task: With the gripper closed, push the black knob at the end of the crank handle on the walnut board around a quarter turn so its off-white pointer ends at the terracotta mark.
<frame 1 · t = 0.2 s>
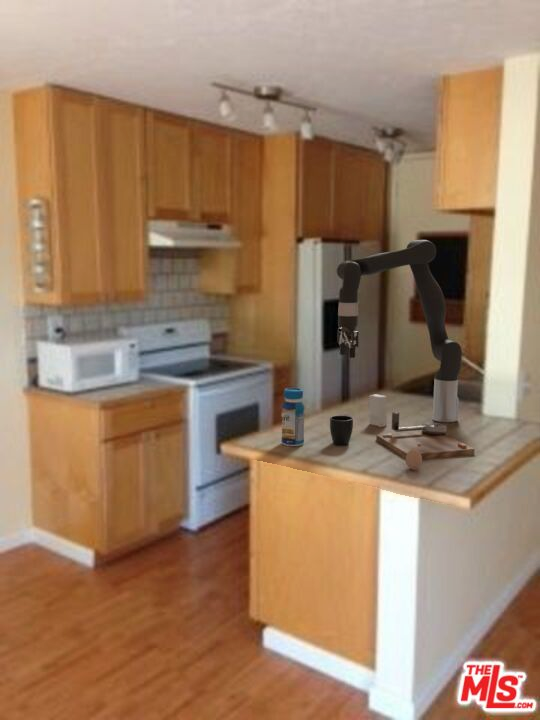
hand: (347, 356, 260), 29 cm above the counter, fingers open, 8 cm apart
skincare box: (377, 425, 269), on the counter
board: (423, 447, 239), on the counter
egg: (413, 470, 215), on the counter
crank handle: (419, 422, 248), point 6 cm above the counter, hinge at 0.0°
beverage bottle: (292, 444, 243), on the counter
mug: (342, 442, 245), on the counter
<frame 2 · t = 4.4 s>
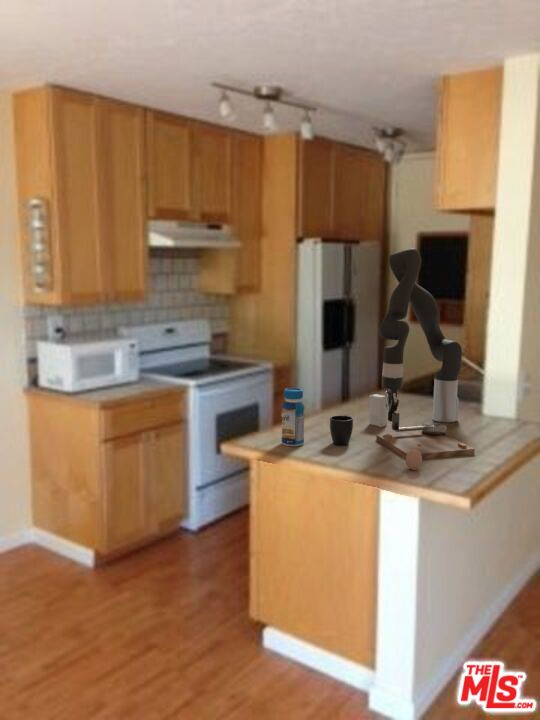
hand: (390, 420, 249), 7 cm above the counter, fingers closed
crank handle: (419, 422, 248), point 6 cm above the counter, hinge at 0.4°, touching gripper
everything else where it was.
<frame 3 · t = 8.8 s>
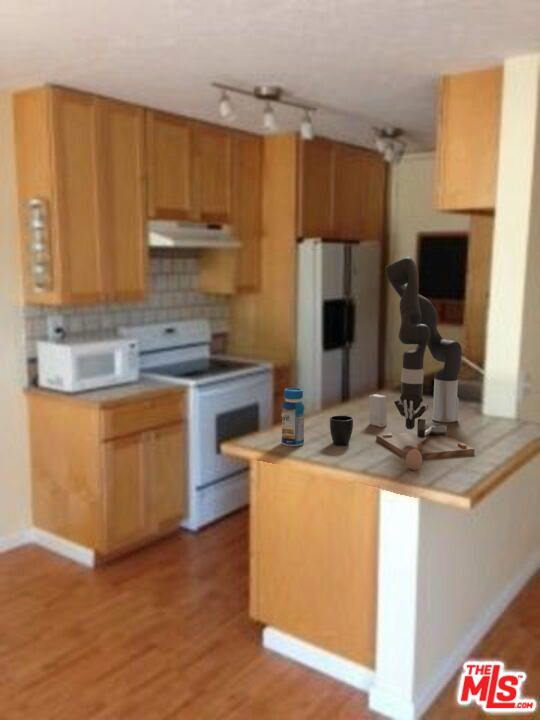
hand: (410, 428, 238), 7 cm above the counter, fingers closed
crank handle: (429, 425, 244), point 6 cm above the counter, hinge at 43.6°, touching gripper
everything else where it was.
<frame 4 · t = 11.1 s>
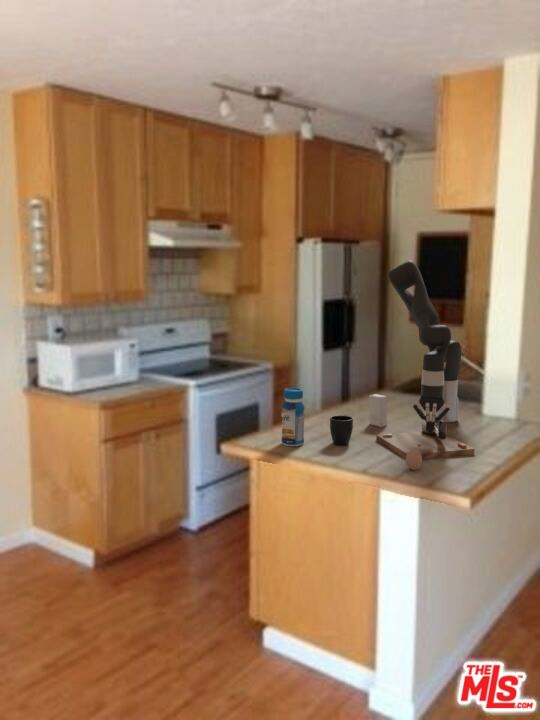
hand: (430, 431, 235), 7 cm above the counter, fingers closed
crank handle: (437, 425, 244), point 6 cm above the counter, hinge at 69.5°, touching gripper
everything else where it was.
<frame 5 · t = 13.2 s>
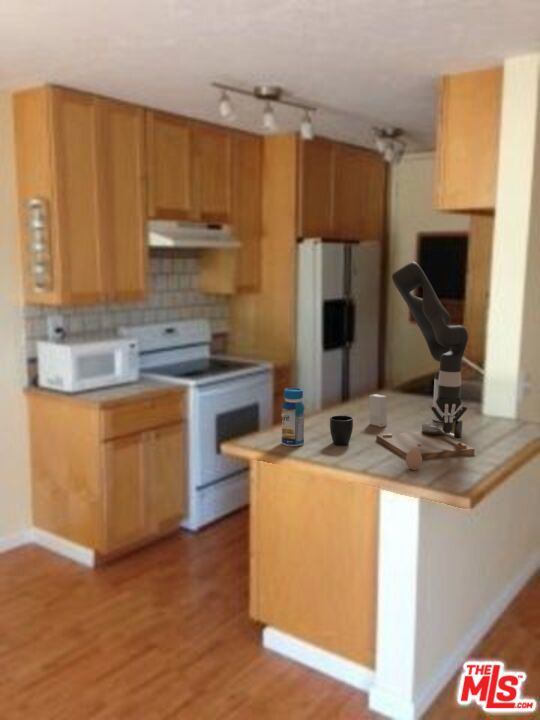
hand: (447, 432, 234), 7 cm above the counter, fingers closed
crank handle: (443, 425, 244), point 6 cm above the counter, hinge at 89.8°, touching gripper
everything else where it was.
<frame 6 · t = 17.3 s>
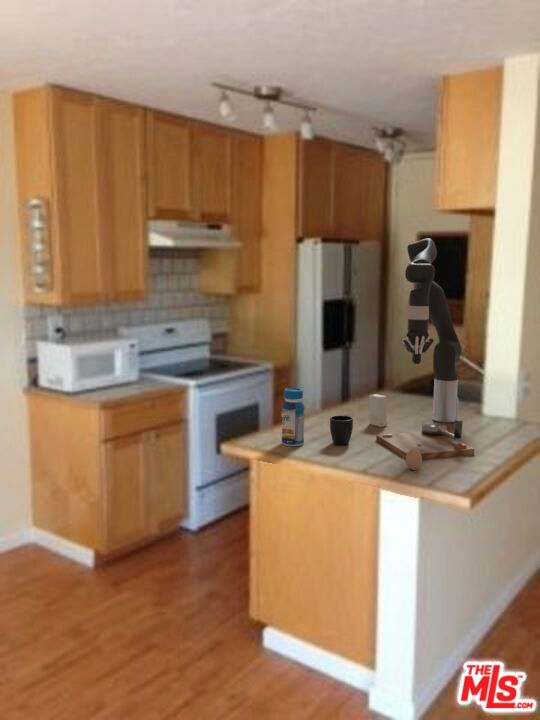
hand: (416, 363, 253), 27 cm above the counter, fingers closed
crank handle: (443, 425, 244), point 6 cm above the counter, hinge at 90.1°
everything else where it was.
at the end: crank handle at +90° (first picture: +0°) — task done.
